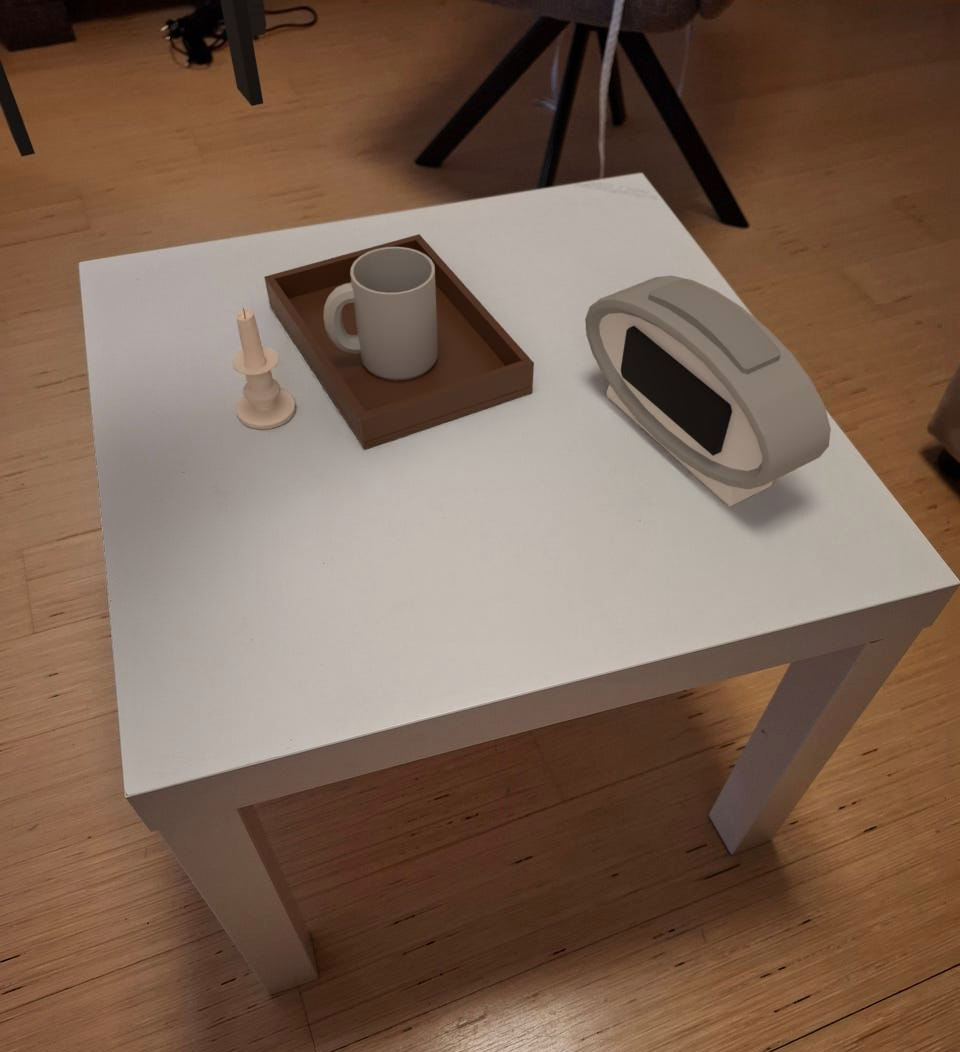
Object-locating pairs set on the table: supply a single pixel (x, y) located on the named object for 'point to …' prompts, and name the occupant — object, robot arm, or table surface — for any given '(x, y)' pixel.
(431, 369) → the tray
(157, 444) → the table surface
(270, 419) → the candle
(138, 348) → the table surface
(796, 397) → the alarm clock
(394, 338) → the cup
